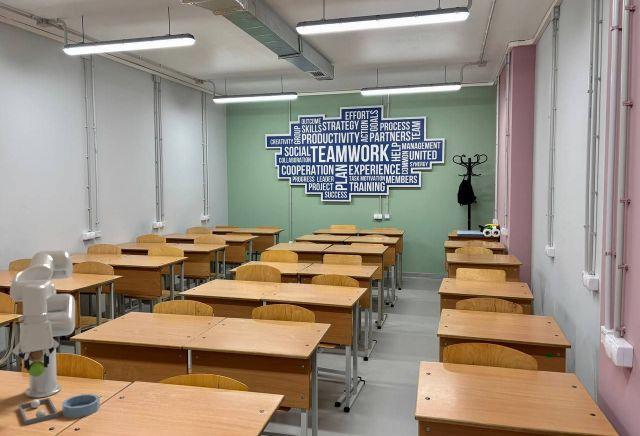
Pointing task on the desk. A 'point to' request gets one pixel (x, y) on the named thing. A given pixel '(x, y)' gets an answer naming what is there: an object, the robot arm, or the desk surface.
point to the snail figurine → (36, 363)
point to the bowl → (80, 405)
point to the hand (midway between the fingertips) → (36, 367)
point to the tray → (38, 417)
